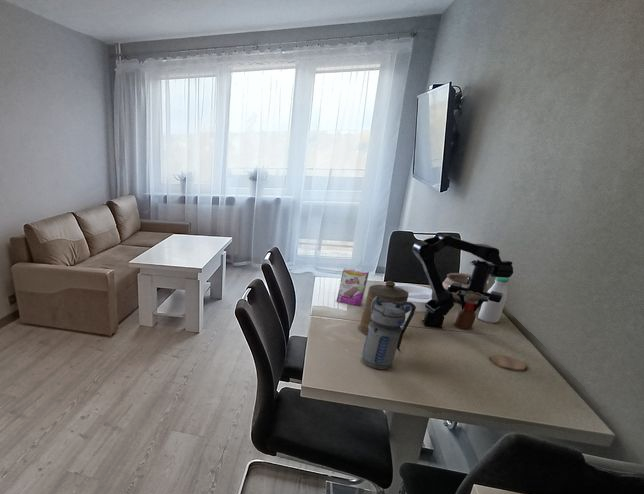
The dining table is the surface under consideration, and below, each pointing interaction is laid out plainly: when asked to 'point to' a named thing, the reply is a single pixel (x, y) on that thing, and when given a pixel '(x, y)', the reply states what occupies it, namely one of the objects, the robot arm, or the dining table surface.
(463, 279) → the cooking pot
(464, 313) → the bottle
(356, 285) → the candy bar box
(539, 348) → the dining table surface
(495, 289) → the milk bottle
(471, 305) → the red toy block
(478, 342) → the dining table surface
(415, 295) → the white circle with bar
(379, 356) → the beverage bottle
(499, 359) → the coaster
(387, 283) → the wooden container
